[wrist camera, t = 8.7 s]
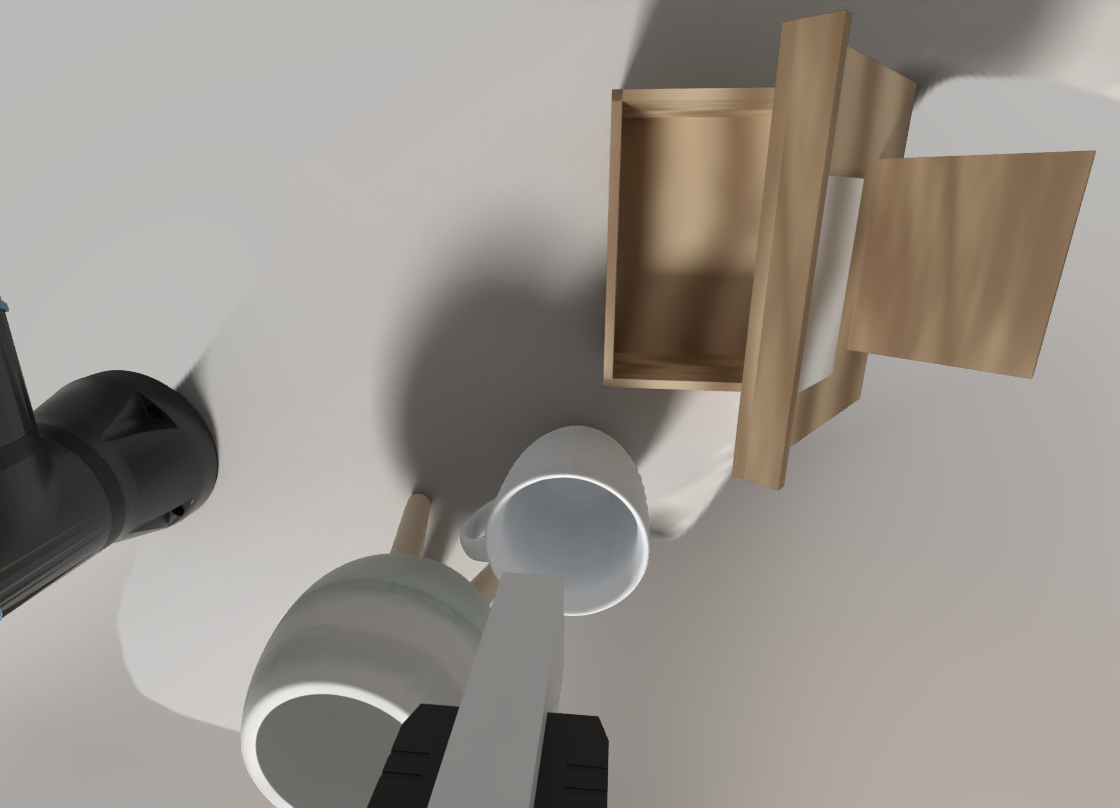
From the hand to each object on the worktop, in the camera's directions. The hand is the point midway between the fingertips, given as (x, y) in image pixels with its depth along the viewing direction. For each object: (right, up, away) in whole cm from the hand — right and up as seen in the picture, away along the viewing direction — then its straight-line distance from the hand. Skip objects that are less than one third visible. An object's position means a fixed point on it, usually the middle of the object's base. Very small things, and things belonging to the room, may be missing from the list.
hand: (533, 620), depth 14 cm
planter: (-10, -8, +41) cm, 42 cm away
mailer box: (+12, +17, +29) cm, 36 cm away
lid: (+14, +12, +15) cm, 24 cm away
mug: (+1, 0, +37) cm, 37 cm away
